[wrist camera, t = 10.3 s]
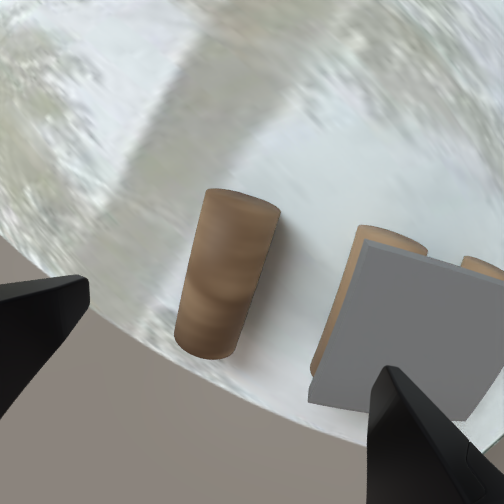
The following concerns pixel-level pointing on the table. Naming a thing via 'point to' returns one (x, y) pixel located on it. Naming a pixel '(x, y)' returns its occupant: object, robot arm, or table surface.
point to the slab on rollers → (410, 326)
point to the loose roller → (223, 271)
